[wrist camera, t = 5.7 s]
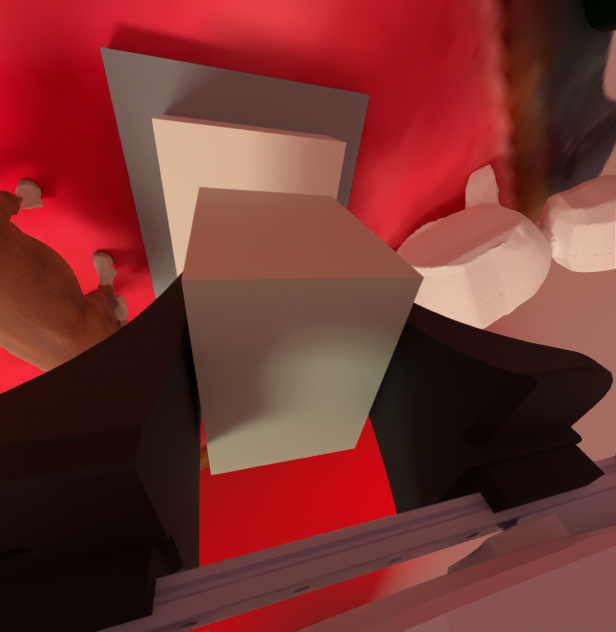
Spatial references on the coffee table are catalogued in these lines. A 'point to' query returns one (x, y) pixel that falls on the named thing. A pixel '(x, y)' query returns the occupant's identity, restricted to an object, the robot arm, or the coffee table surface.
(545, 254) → the white lumpy shape
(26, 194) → the bull figurine
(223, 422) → the sage brick
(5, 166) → the coffee table surface
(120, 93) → the tower base
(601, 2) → the soda can
